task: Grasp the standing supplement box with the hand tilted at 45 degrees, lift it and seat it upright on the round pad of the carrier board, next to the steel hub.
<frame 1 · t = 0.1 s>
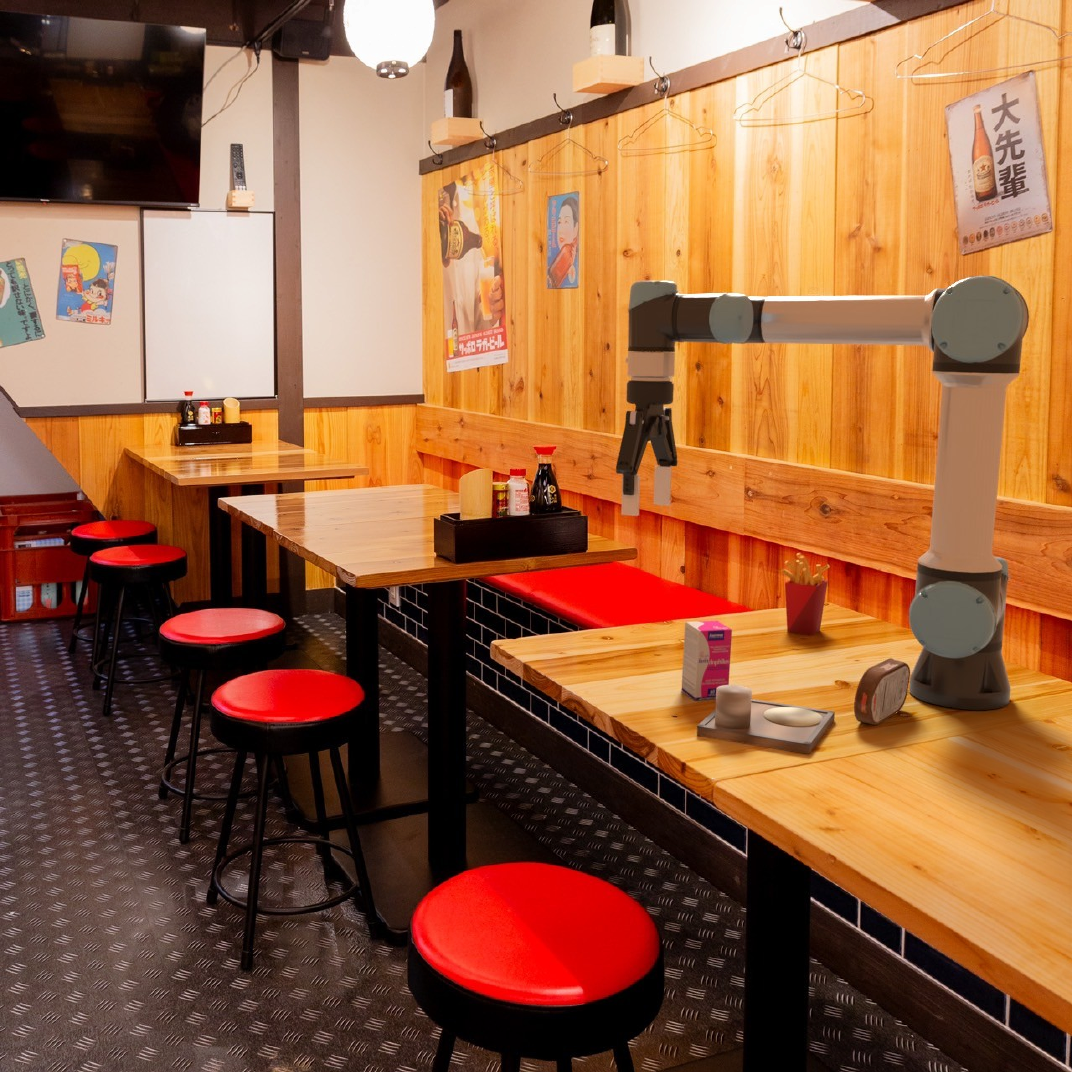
hand: (646, 510, 190), 28 cm above the table, tool pointing down, fingers open, 13 cm apart
carrier board: (767, 727, 169), on the table
tin: (881, 719, 174), on the table
supplement box: (704, 696, 184), on the table
french fries: (797, 632, 226), on the table
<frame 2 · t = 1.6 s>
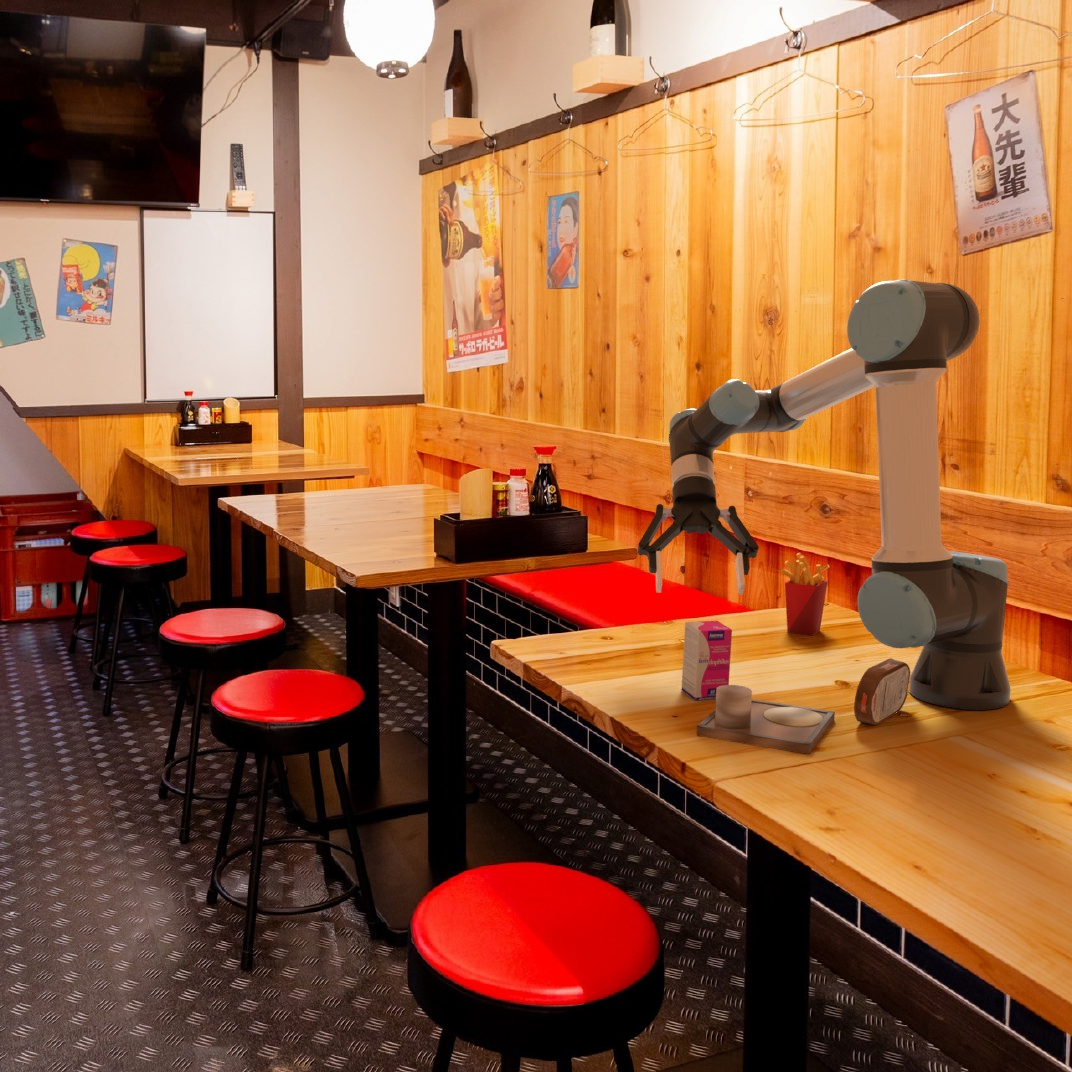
hand: (700, 589, 192), 15 cm above the table, tool tilted 45°, fingers open, 13 cm apart
nothing on the table moved.
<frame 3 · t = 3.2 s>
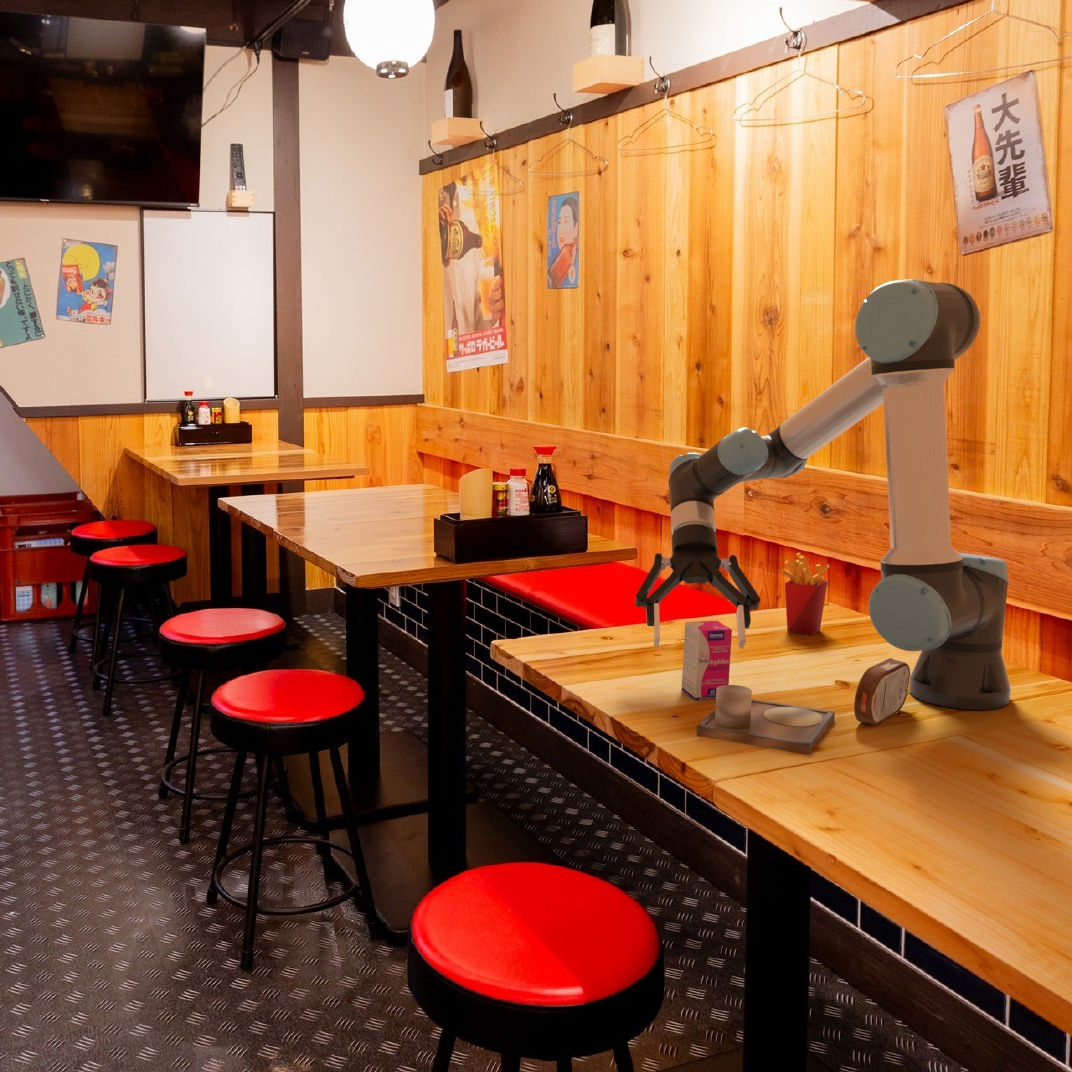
hand: (699, 643, 186), 8 cm above the table, tool tilted 45°, fingers open, 13 cm apart
nothing on the table moved.
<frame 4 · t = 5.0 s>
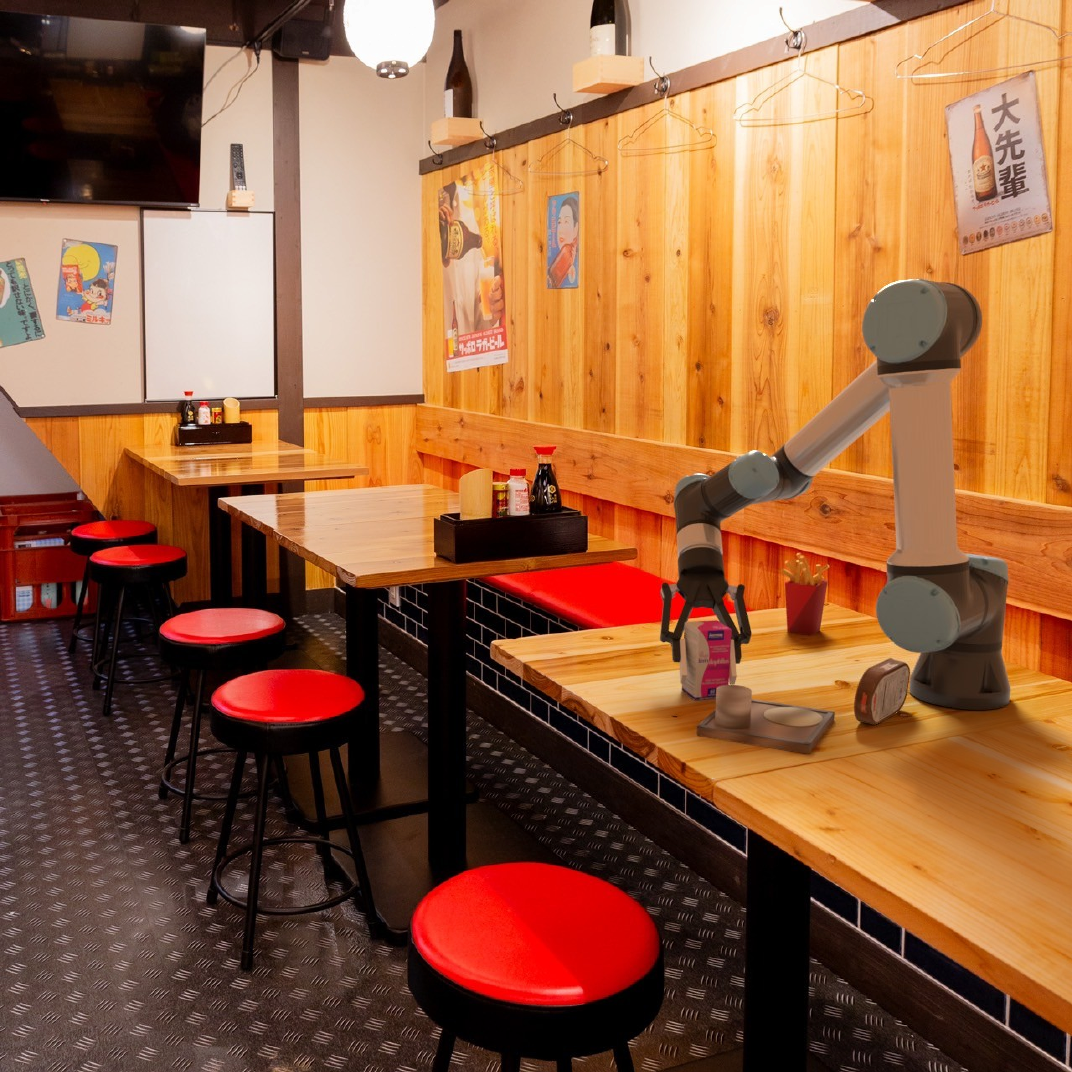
hand: (708, 679, 180), 4 cm above the table, tool tilted 45°, fingers closed on supplement box, 7 cm apart
supplement box: (704, 695, 184), on the table, touching gripper
everything else where it was.
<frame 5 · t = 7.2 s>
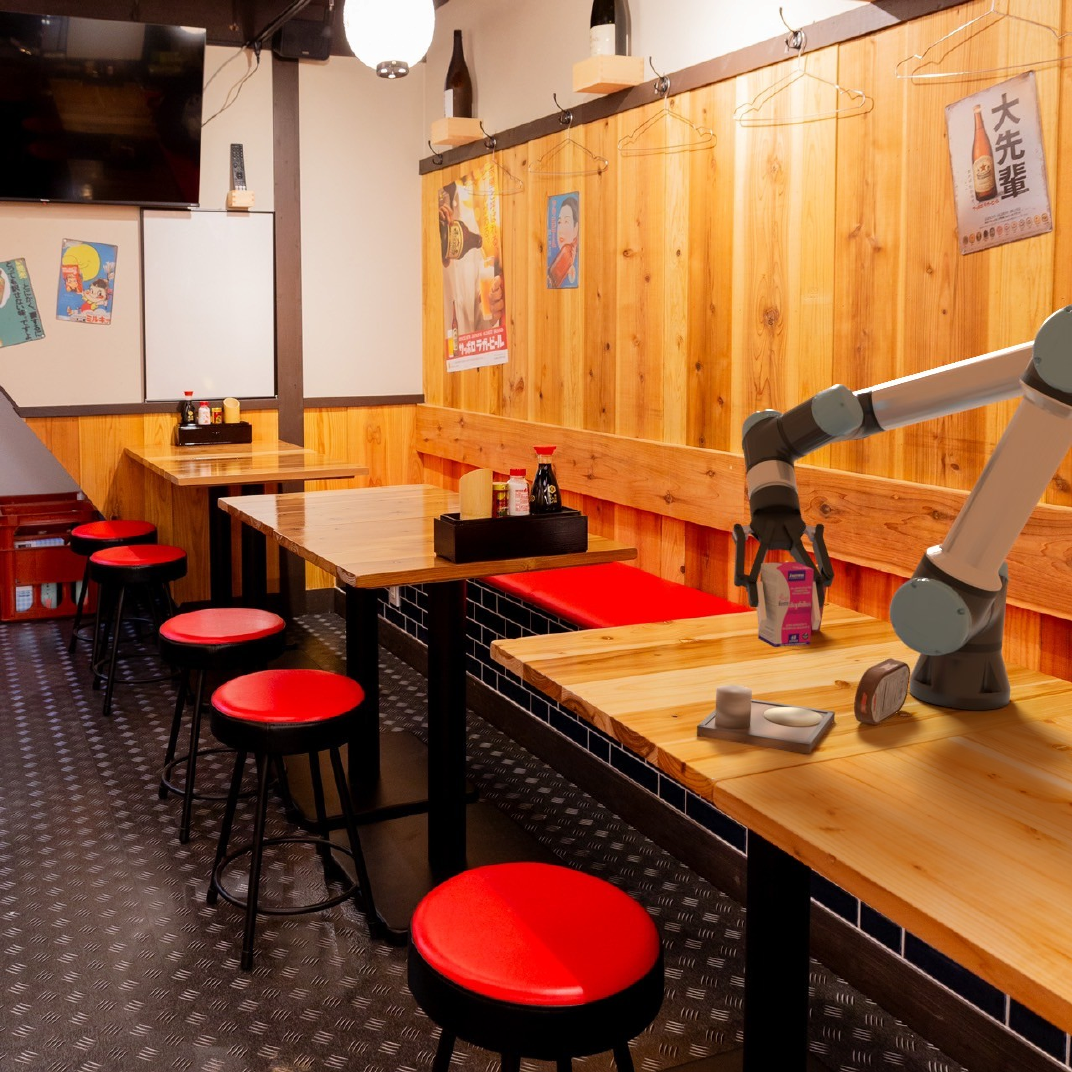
hand: (789, 624, 166), 16 cm above the table, tool tilted 45°, fingers closed on supplement box, 7 cm apart
supplement box: (784, 643, 170), point 12 cm above the table, touching gripper
everything else where it was.
when the fingers open (6 cm above the table, at t = 9.5 s): supplement box drops 2 cm, resting on carrier board.
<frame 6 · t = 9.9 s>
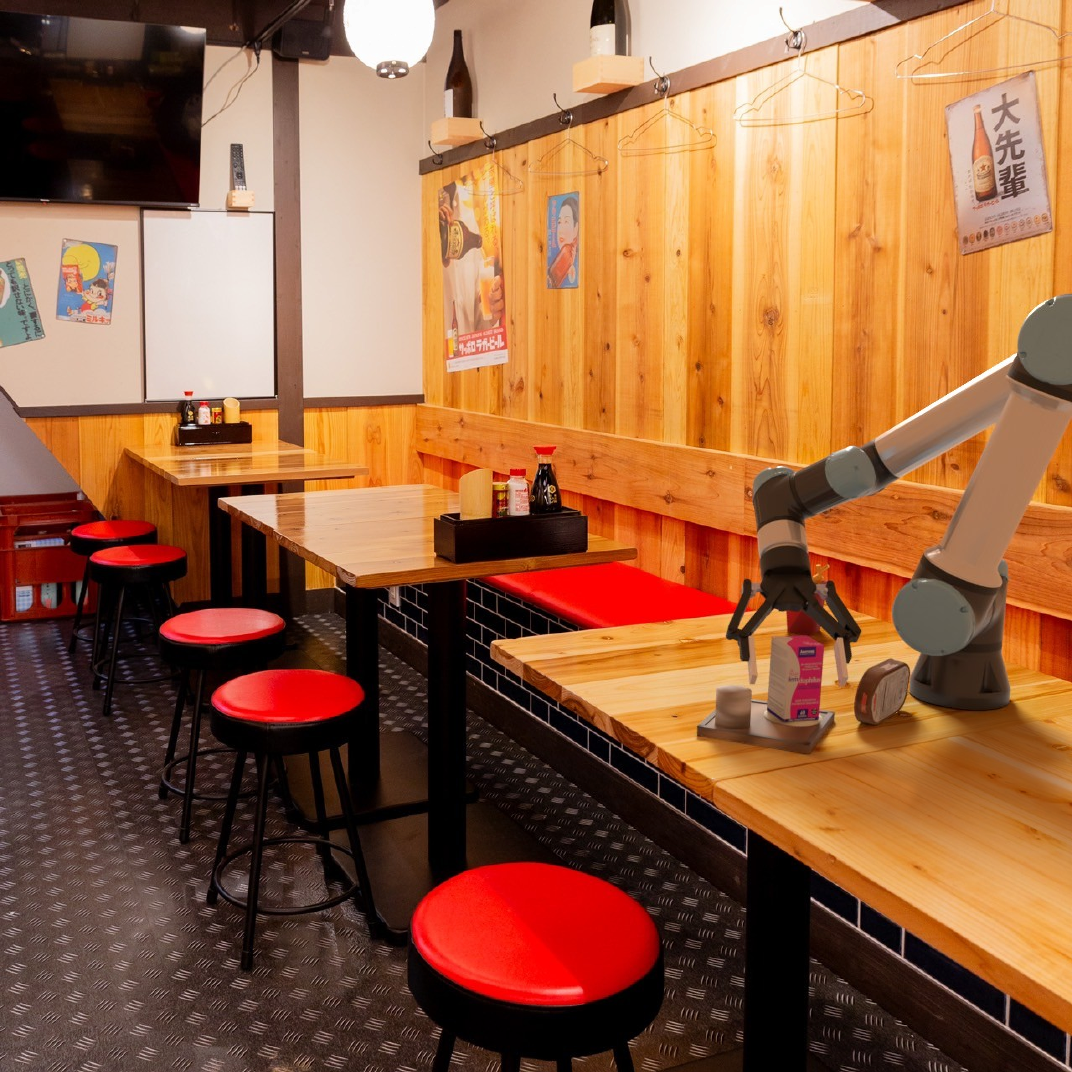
hand: (798, 681, 167), 7 cm above the table, tool tilted 45°, fingers open, 12 cm apart
supplement box: (793, 717, 170), point 1 cm above the table, touching carrier board
everything else where it was.
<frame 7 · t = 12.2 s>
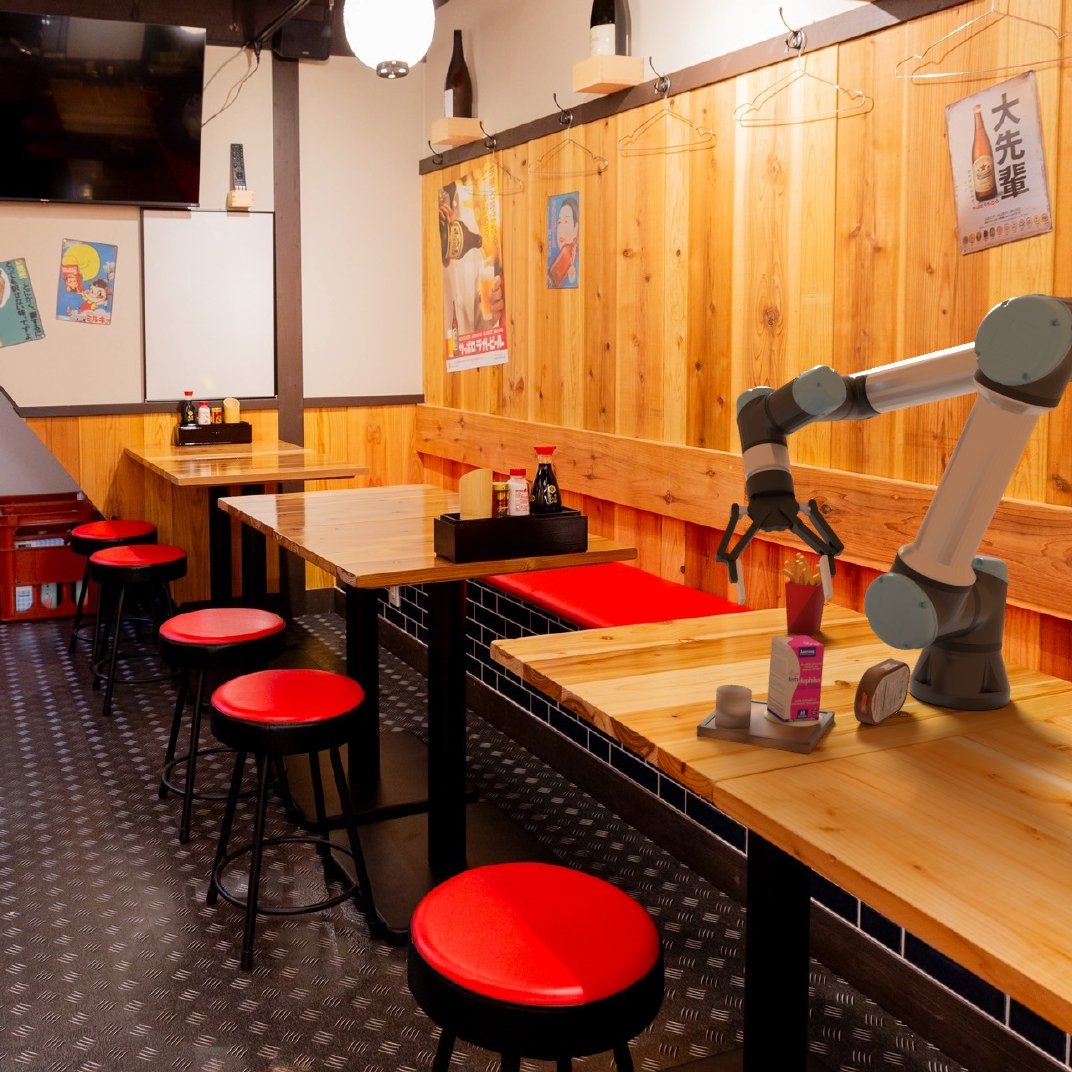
hand: (785, 599, 182), 16 cm above the table, tool tilted 35°, fingers open, 13 cm apart
nothing on the table moved.
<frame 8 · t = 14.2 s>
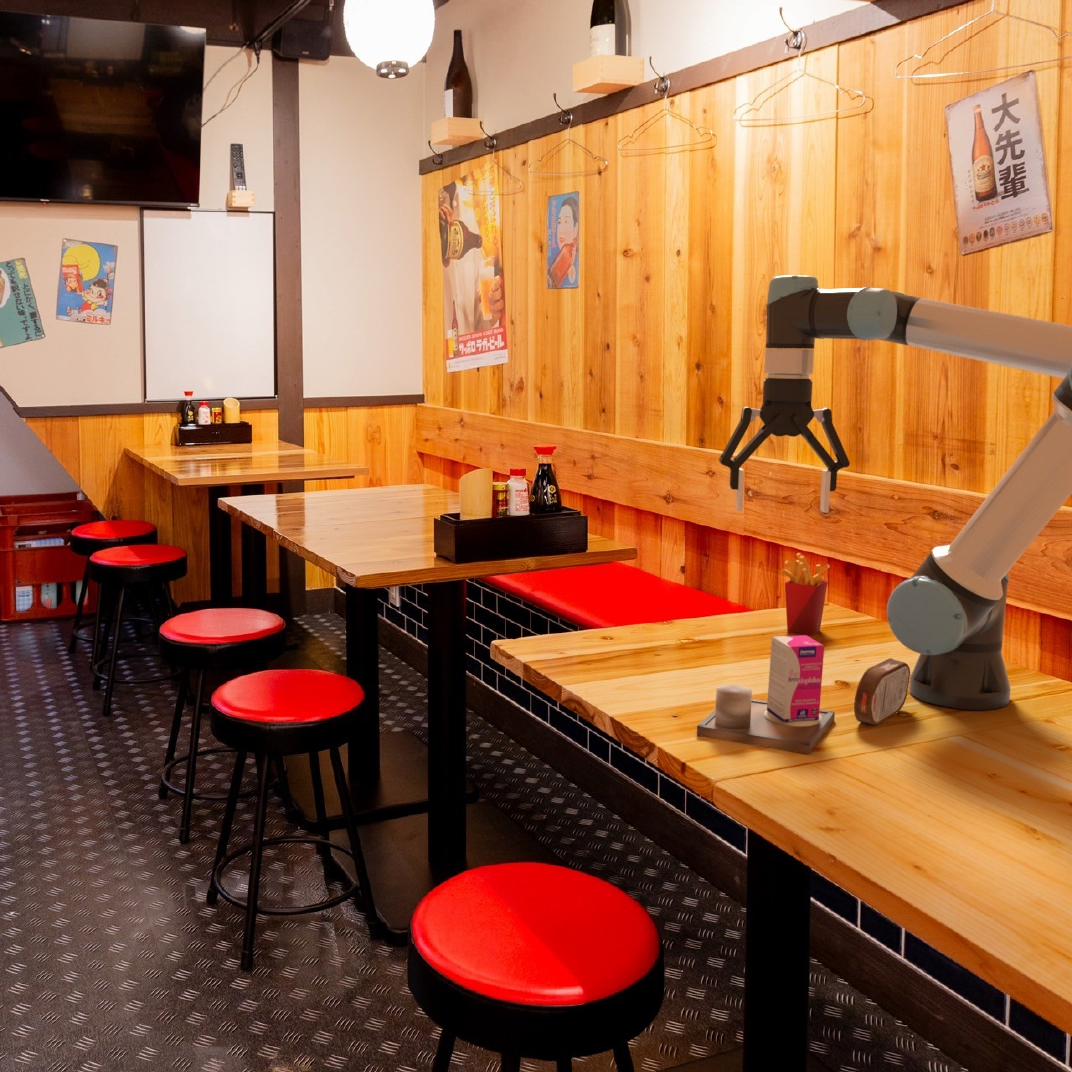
hand: (781, 511, 186), 29 cm above the table, tool pointing down, fingers open, 13 cm apart
nothing on the table moved.
at the end: supplement box 0.1 cm from the target spot on the carrier board, point 1.2 cm above the carrier board's base; supplement box tilted 0°; the gripper is holding nothing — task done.
